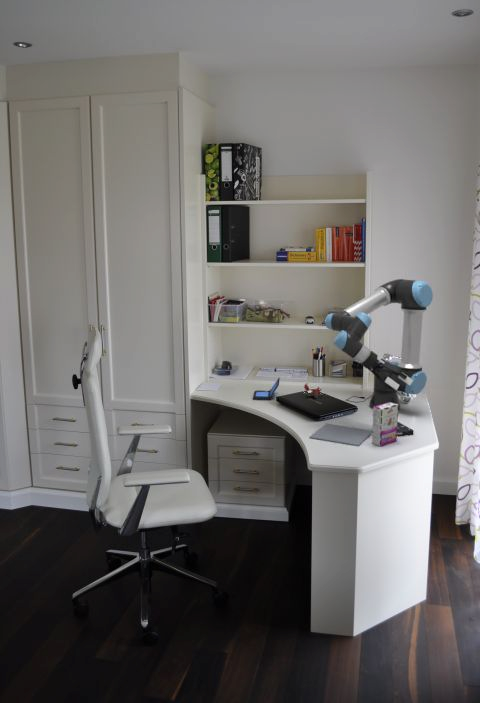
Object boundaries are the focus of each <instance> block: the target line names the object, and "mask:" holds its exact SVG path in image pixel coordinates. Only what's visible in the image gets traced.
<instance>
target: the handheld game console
mask: <svg viewBox="0 0 480 703" xmlns="http://www.w3.org/2000/svg"><path fill="white" fill-rule="evenodd" d="M280 379H281V378H280V377H278V378H277V379H276V381H275V383H274V384H273V386H272V388H271V389H269V390H258V389H257V390H254V392H253V396H252V400H253V401H269V402H270V401H272V400H271V399H272V397H273V395H274V393H275V392H276V390H277V389H278V387H279V385H280Z"/></svg>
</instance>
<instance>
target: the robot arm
mask: <svg viewBox="0 0 480 703" xmlns="http://www.w3.org/2000/svg"><path fill="white" fill-rule="evenodd" d="M433 293H434V292H433V289H432V286H430V284H429V283H428V282H427V281H422V280H416V279H403V278H397V279H393V280H389V281H388V282H385V283H383V284H382V285H380V286H378V287H377V288H375V289H374V291H373V292H372V293H370V294H369V295H367V296H365V297H364V298H362V299H360V300H359V301H357V302H355V303H353V304H351V305H350V306H348V307H347V308H345V309H343V310H342V311H339V312H338V313H333V312H332V313H328V314H327V316H326V317H325V320H324V321H325V322H324V323H325V327H326V328H327V329H328V330H331V331H335V332H338V334H337V335H336V337H334V340H333V345H334V346H335V347H336V348H337V349H339V350H340V351H341V352H343V353H345V354H346V355H347V356H349V357H351V359H352V360H354V362H357V363H359V364H361V365H362V366H363V367H364V368H365V369H367V370H368V371H369V372H371V374H372V375H373V392H372V395H371V396H370V397H371V398H370V400H369V404H368V407H369V408H370V409H372V410H373V407H375V406H378V405H382V404H385V403H389V402H391V403H395V404H398V411H399V410H400V409H401V402H400V399H399V394H398V391H399V392H401V393H405V394H409V395H418V394H420V393H421V392H422V391H423V390H424V388H425V387H426V385H427V380H428V379H427V375H426V373H425V372H424V370H423V365H422V364H421V363H420V359H421V356H420V355H421V345H422V344H421V342H422V328H423V314H424V312H426V311H427V308H428V307H429V306H430V305H431V304H432V302H433V297H434V295H433ZM390 304H400V310H401V311H403V323H402V336H401V337H402V339H401V353H400V354H401V355H400V361H399V362H398V361H387V360H386V359H384V358H381V359H380V360H379V359H378V354H377V353H376V352H374V351H373V350H371V349H370V348H368V347H367V346H366V345H364V344H363V343H362V342H361V341H362V338H363V337H364V336H365V334H366V333H367V331H368V330H369V328H370V326H371V325H372V322H373V320H372V318H371V317H370V316H369V314H371V313H372V312H374V311H375V310H378V309H379V308H381V307H386V306H388V305H390Z"/></svg>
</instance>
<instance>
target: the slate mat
mask: <svg viewBox="0 0 480 703" xmlns="http://www.w3.org/2000/svg"><path fill="white" fill-rule="evenodd" d="M372 431H373V429H372V430H371V429H366V428H361V427H360V428H359V427H353V426H347V425H346V426H345V425H339V424H333V423H328V422H327V423H325V424H324V425H322V426H321V427H320V428H318V429H317V430H316V431H315V432H314V433H312V434H311V435H310V436H308V438H309V439H312V440H319V441H324V442H329V443H334V444H336V443H337V444H342V445H348V446H355V447H360V446H361V445H362V444H363V443H364V442H365V441H366V440H367V439H368V438H369V437H370V436H372Z"/></svg>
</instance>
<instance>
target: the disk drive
mask: <svg viewBox="0 0 480 703" xmlns="http://www.w3.org/2000/svg"><path fill="white" fill-rule="evenodd" d="M405 435H408V436H413V435H414V429H412V428H410V427H409V426H407V425H405V424H403V423H401V422H400V421H398V422H397V436H398V437H406V436H405Z"/></svg>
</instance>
